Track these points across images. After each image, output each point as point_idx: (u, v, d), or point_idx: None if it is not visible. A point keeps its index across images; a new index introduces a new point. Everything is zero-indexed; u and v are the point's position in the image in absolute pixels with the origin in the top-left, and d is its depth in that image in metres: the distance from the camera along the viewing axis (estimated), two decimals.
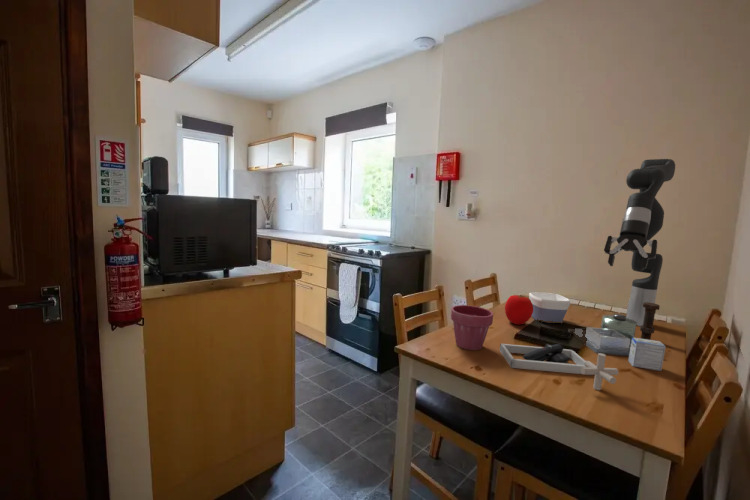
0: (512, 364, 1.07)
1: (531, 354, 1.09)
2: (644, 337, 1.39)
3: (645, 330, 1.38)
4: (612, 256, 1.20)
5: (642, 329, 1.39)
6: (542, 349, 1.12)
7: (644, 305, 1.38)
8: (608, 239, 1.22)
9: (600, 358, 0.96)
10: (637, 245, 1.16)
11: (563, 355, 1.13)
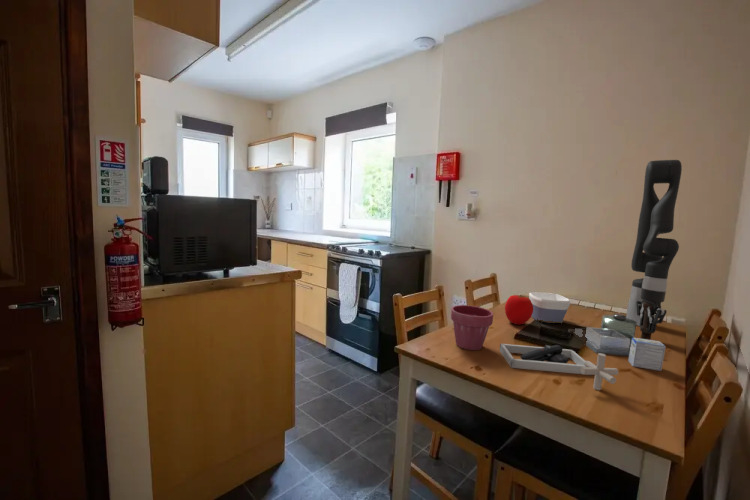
0: (512, 364, 1.07)
1: (529, 354, 1.09)
2: (644, 337, 1.39)
3: (645, 330, 1.38)
4: (641, 320, 1.41)
5: (642, 329, 1.39)
6: (540, 350, 1.11)
7: (644, 305, 1.38)
8: (637, 304, 1.44)
9: (600, 358, 0.96)
10: (648, 310, 1.37)
11: (562, 356, 1.12)
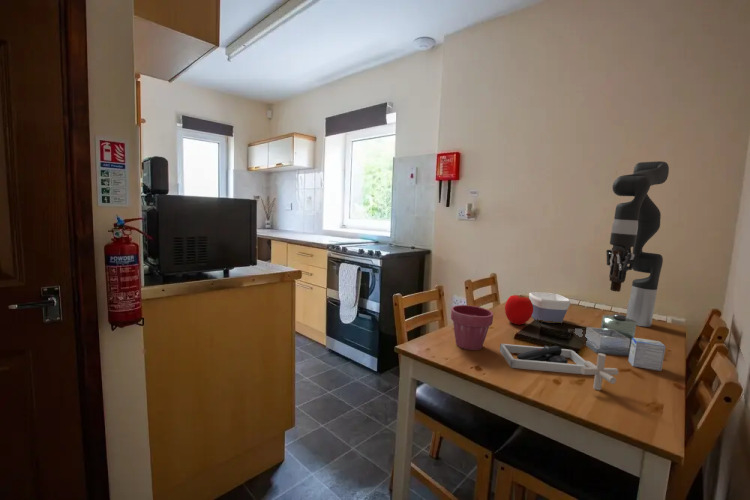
0: (512, 364, 1.07)
1: (525, 354, 1.09)
2: (613, 287, 1.26)
3: (614, 279, 1.25)
4: (610, 270, 1.29)
5: (611, 278, 1.26)
6: (538, 350, 1.11)
7: (613, 251, 1.25)
8: (607, 253, 1.31)
9: (600, 358, 0.96)
10: (617, 257, 1.24)
11: (561, 357, 1.11)
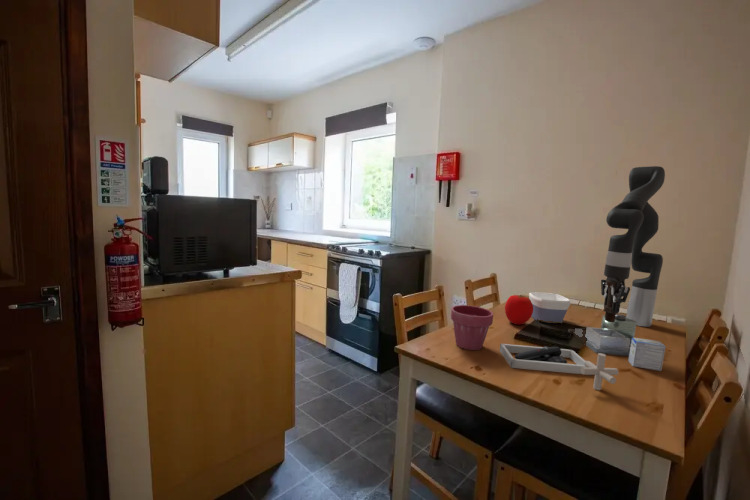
0: (512, 364, 1.07)
1: (523, 354, 1.09)
2: (608, 318, 1.27)
3: (608, 310, 1.26)
4: (605, 300, 1.30)
5: (605, 309, 1.27)
6: (536, 350, 1.10)
7: (607, 283, 1.26)
8: (601, 283, 1.33)
9: (600, 358, 0.96)
10: (611, 288, 1.25)
11: (560, 358, 1.11)
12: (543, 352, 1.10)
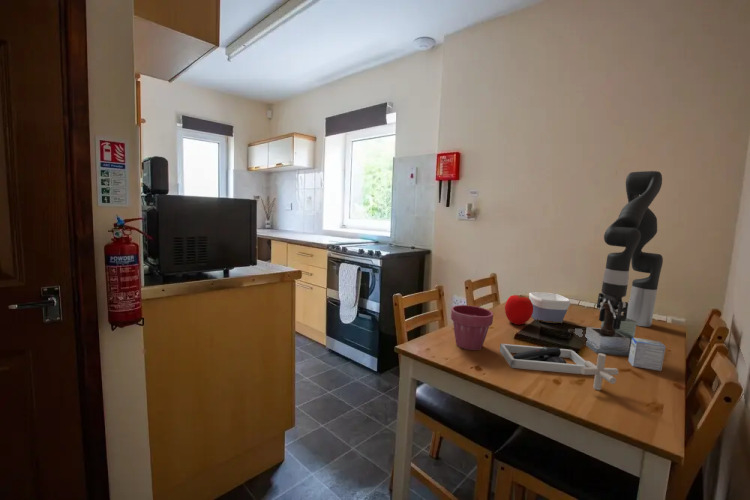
0: (512, 364, 1.07)
1: (522, 354, 1.09)
2: None
3: (605, 332, 1.28)
4: (600, 313, 1.32)
5: (602, 331, 1.29)
6: (535, 350, 1.10)
7: (604, 305, 1.28)
8: (599, 296, 1.34)
9: (600, 358, 0.96)
10: (610, 306, 1.26)
11: (559, 358, 1.10)
12: (542, 352, 1.10)
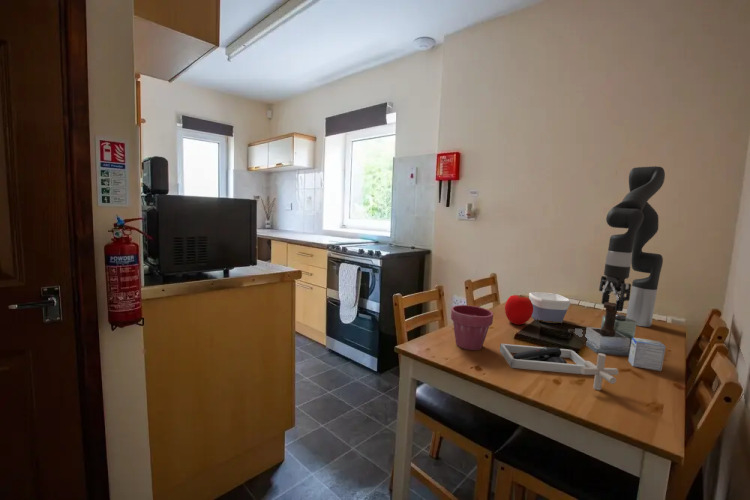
0: (512, 364, 1.07)
1: (522, 354, 1.09)
2: None
3: (606, 332, 1.27)
4: (603, 296, 1.32)
5: (603, 331, 1.28)
6: (535, 350, 1.10)
7: (605, 305, 1.27)
8: (601, 279, 1.33)
9: (600, 358, 0.96)
10: (612, 288, 1.25)
11: (560, 359, 1.10)
12: (542, 352, 1.10)
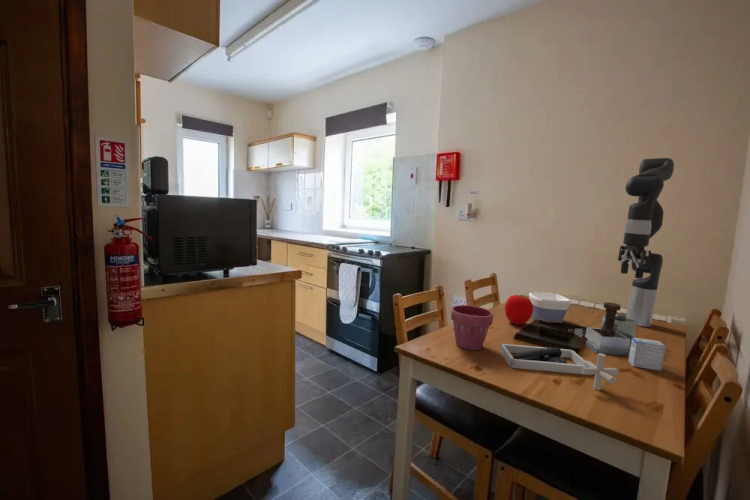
0: (512, 364, 1.07)
1: (522, 354, 1.09)
2: None
3: (606, 332, 1.27)
4: (622, 265, 1.33)
5: (603, 331, 1.28)
6: (536, 350, 1.10)
7: (605, 305, 1.27)
8: (620, 249, 1.34)
9: (600, 358, 0.96)
10: (632, 256, 1.26)
11: (560, 359, 1.10)
12: (542, 352, 1.10)
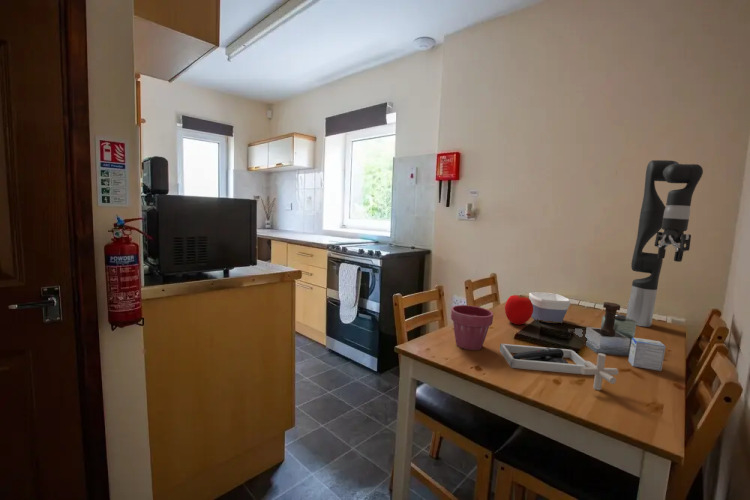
0: (512, 364, 1.07)
1: (522, 354, 1.09)
2: None
3: (606, 332, 1.27)
4: (659, 250, 1.38)
5: (602, 331, 1.28)
6: (536, 351, 1.10)
7: (604, 305, 1.27)
8: (657, 235, 1.40)
9: (600, 358, 0.96)
10: (671, 240, 1.32)
11: (561, 360, 1.09)
12: (543, 353, 1.09)
